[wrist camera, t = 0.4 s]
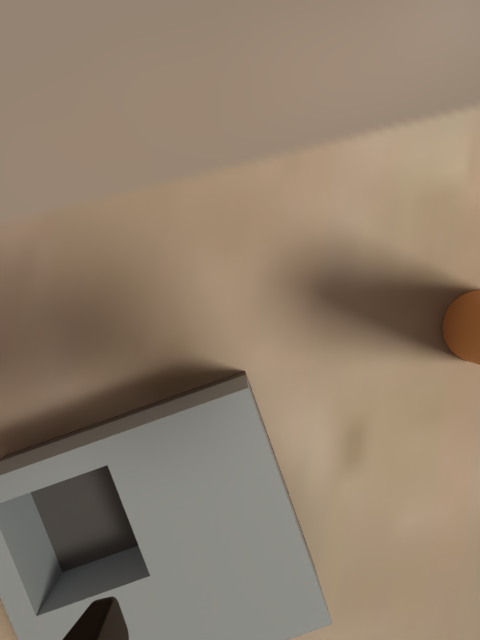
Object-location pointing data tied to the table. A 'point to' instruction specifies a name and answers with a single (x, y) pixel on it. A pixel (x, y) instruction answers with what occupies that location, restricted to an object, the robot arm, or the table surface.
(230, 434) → the socket block
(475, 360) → the pin
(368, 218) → the table surface
